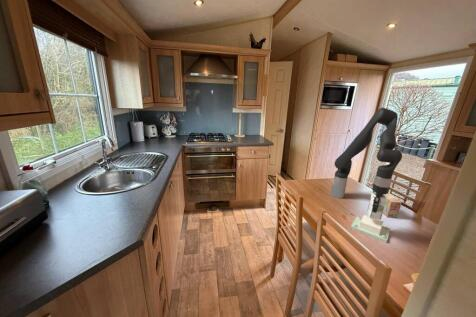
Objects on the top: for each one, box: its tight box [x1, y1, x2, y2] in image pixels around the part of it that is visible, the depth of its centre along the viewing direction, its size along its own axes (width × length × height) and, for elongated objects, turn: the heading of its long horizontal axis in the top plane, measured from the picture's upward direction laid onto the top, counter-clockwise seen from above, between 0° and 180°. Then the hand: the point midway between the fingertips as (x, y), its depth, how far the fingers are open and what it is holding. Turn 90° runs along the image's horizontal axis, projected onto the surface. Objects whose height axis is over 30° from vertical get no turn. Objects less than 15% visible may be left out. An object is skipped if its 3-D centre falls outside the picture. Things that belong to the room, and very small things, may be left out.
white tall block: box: [366, 191, 387, 221], centre depth 111 cm, size 6×6×14 cm
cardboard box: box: [372, 190, 402, 219], centre depth 136 cm, size 21×6×12 cm, turn 173°
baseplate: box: [350, 214, 391, 243], centre depth 116 cm, size 18×14×6 cm
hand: (375, 209), depth 112 cm, fingers closed on white tall block, 7 cm apart
